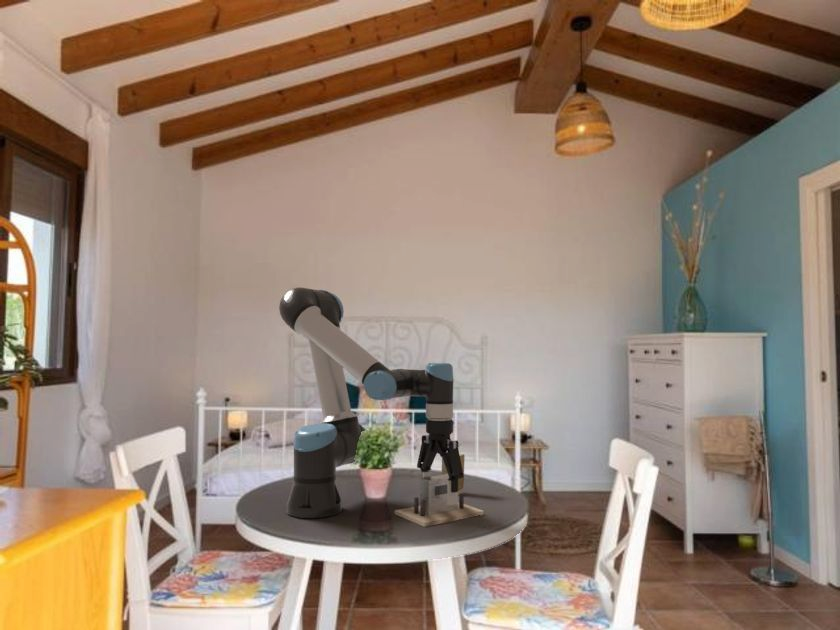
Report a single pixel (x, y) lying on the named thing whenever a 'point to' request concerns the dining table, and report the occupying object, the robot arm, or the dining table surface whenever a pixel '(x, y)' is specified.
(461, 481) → the skincare box
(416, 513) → the pin tray
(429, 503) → the drive
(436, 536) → the dining table surface
